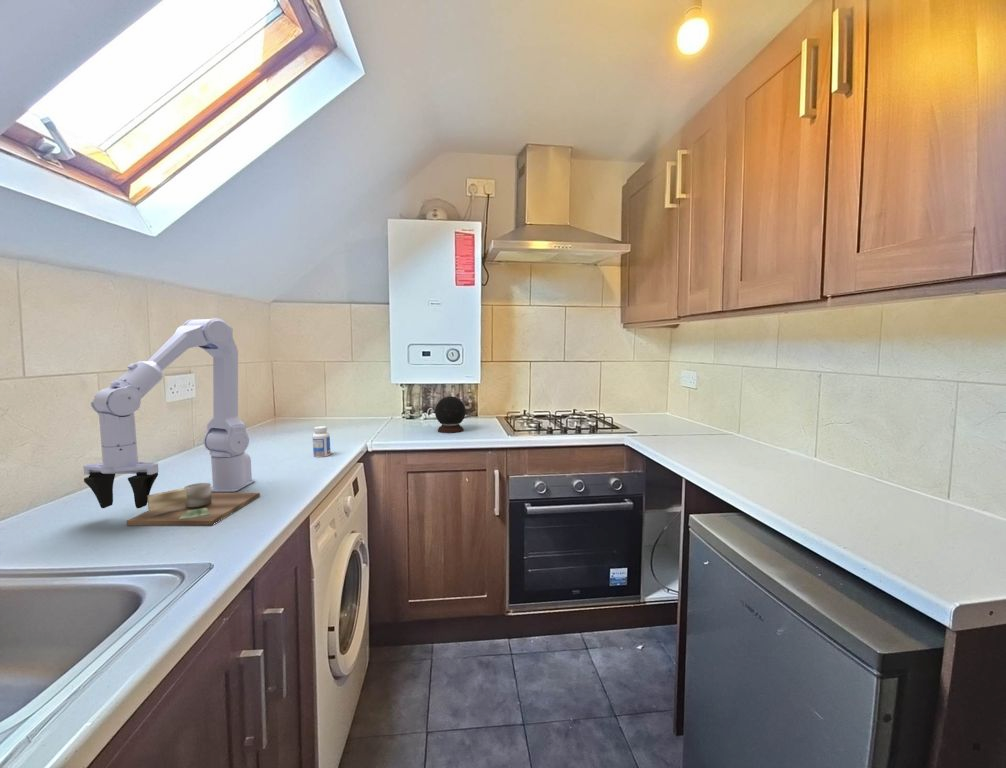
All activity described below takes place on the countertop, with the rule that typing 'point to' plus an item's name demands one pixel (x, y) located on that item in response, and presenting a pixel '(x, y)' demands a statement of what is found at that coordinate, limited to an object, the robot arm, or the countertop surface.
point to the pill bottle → (321, 442)
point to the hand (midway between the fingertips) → (124, 506)
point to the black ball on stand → (450, 414)
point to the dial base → (196, 511)
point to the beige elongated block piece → (182, 497)
